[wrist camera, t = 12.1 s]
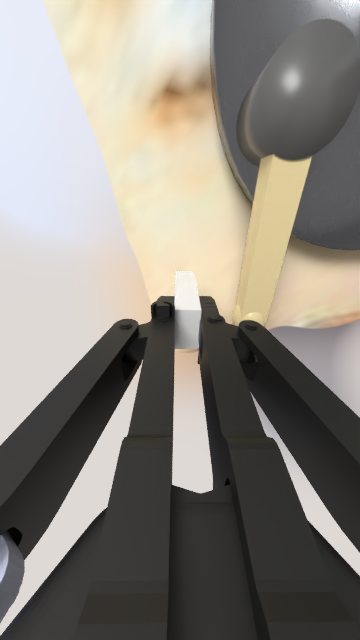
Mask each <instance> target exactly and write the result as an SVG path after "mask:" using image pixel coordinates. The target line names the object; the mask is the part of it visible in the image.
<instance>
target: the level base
mask: <svg viewBox="0 0 360 640" xmlns="http://www.w3.org/2000/svg"><path fill="white" fill-rule="evenodd" d="M318 19H332V20H336V21H338V22H340V23H342V24H343V25H345V26H346V27H347V28H348V29H349V30H350V31H351V32H352V34H353V35H354V37H355V39H356V41H357V44H358V46H359V50H360V0H212V10H211V34H210V66H211V81H212V95H213V102H214V108H215V114H216V120H217V125H218V130H219V133H220V137H221V141H222V144H223V148H224V151H225V155H226V157H227V159H228V162H229V164H230V167H231V169H232V171H233V174H234V176H235V178H236V180H237V182H238V183H239V185H240V187H241V188H242V190H243V192H244V194H245V195H246V197H247V198H248V199H249V200H250V202H251V203H252V204H253V201H254V195H255V189H256V184H257V178H258V172H259V166H256V165H254V164H252V163H250V162H249V161H248V160H247V159H246V158H245V157H244V155H243V154H242V152H241V150H240V148H239V145H238V141H237V135H236V125H237V117H238V113H239V109H240V106H241V104H242V101H243V99H244V97H245V95H246V94H247V92H248V90H249V89H250V88H251V86H252V85H253V83H254V82H255V80H256V79H257V78H258V76H259V75H260V73H261V72H262V70H263V69H264V68H265V66H266V65H267V63H268V62H269V60H270V59H271V58H272V56H273V55H274V53H275V52H276V51H277V49H278V48H279V47H280V45H281V44H282V43H283V42H284V41H285V39H286V38H287V37H288V36H289V35H290V34H292V33H293V32H294V31H295V30H296V29H298V28H299V27H301V26H303V25H304V24H306V23H309V22H311V21H314V20H318ZM291 235H292V236H295V237H297V238H299V239H302V240H304V241H307V242H309V243H312V244H315V245H319V246H323V247H327V248H332V249H343V250H360V87H359V92H358V95H357V99H356V102H355V104H354V107H353V109H352V112H351V114H350V116H349V118H348V119H347V121H346V123H345V125H344V126H343V128H342V129H341V130H340V132H339V133H338V134H337V136H336V137H335V138H334V139H333V140H332V141H331V142H330V143H329V144H328V145H327V146H326V147H324V148H323V149H322V150H320V151H319V152H317V153H315V154H314V155H312V159H311V162H310V166H309V169H308V173H307V177H306V180H305V184H304V188H303V191H302V195H301V198H300V202H299V206H298V209H297V213H296V217H295V220H294V224H293V227H292V231H291Z"/></svg>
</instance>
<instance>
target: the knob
mask: <svg viewBox="0 0 360 640" xmlns="http://www.w3.org/2000/svg"><path fill="white" fill-rule="evenodd" d="M359 87H360V50H359V46H358V44H357V41H356V39H355V37H354V35H353V34H352V32H351V31H350V30H349V29H348V28H347V27H346V26H345V25H343V24H342V23H340V22H338V21H336V20H332V19H318V20H314V21H311V22H309V23H306V24H304V25H303V26H301V27H299V28H298V29H296V30H295V31H294V32H293V33H292V34H290V35H289V36H288V37H287V38H286V39H285V41H284V42H283V43H282V44H281V45H280V47H279V48H278V49H277V51H276V52H275V53H274V55H273V56H272V58H271V59H270V60H269V62H268V63H267V65H266V66H265V68H264V69H263V70H262V72H261V73H260V75H259V76H258V78H257V79H256V80H255V82H254V83H253V85H252V86H251V88H250V89H249V90H248V92H247V94H246V95H245V97H244V99H243V101H242V104H241V106H240V109H239V113H238V117H237V125H236V135H237V141H238V145H239V148H240V150H241V152H242V154H243V155H244V157H245V158H246V159H247V160H248V161H249V162H250V163H252V164H254V165H256V166H259V172H258V178H257V184H256V189H255V195H254V201H253V207H252V212H251V218H250V224H249V229H248V235H247V241H246V246H245V252H244V258H243V263H242V269H241V275H240V280H239V286H238V292H237V298H236V303H235V308H234V310H233V313H232V320H233V323H234V325H235V326H239V323H240V322H241V321H243V320H253V321H256V322H258V323H260V324H261V325H262V326H263V327H264V326H265V324H266V322H267V319H268V314H269V311H270V307H271V304H272V300H273V296H274V293H275V289H276V285H277V282H278V278H279V275H280V271H281V267H282V264H283V260H284V256H285V253H286V249H287V246H288V242H289V238H290V235H291V231H292V227H293V224H294V220H295V217H296V213H297V209H298V206H299V202H300V198H301V195H302V191H303V188H304V184H305V180H306V177H307V173H308V169H309V166H310V162H311V159H312V155H314V154H315V153H317V152H319V151H320V150H322V149H323V148H324V147H326V146H327V145H328V144H329V143H330V142H331V141H332V140H333V139H334V138H335V137H336V136H337V134H338V133H339V132H340V130H341V129H342V128H343V126H344V125H345V123H346V121H347V119H348V118H349V116H350V114H351V112H352V109H353V107H354V104H355V102H356V99H357V95H358V92H359Z"/></svg>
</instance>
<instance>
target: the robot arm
mask: <svg viewBox="0 0 360 640" xmlns="http://www.w3.org/2000/svg"><path fill="white" fill-rule="evenodd" d="M151 314H152V319H151V321H150V322H148V323H146V324H142V325H138V322H137V321H135V320H132V319H123V320H120V321H118V322H116V323H115V324H114V325H113V326H112V327H111V328H110V329H109V330H108V331H107V332H106V334H104V336H103V337H102V338H101V339H100V340H99V341H98V342H97V343H96V344H95V345H94V346H93V347H92V348H91V349H90V350H89V352H88V353H87V354H86V355H85V356H84V357H83V358H82V359H81V360H80V361H79V362H78V363H77V364H76V365H75V367H74V368H73V369H72V370H71V371H70V372H69V373H68V374H67V375H66V376H65V377H64V378H63V379H62V380H61V381H60V383H59V384H58V385H57V386H56V387H55V388H54V389H53V390H52V391H51V392H50V393H49V394H48V396H47V397H46V398H45V399H44V400H43V401H42V402H41V403H40V404H39V405H38V406H37V407H36V408H35V409H34V410H33V411H32V413H31V414H30V415H29V416H28V417H27V418H26V419H25V420H24V421H23V422H22V423H21V424H20V425H19V427H18V428H17V429H16V430H15V431H14V432H13V433H12V434H11V435H10V436H9V437H8V438H7V439H6V440H5V441H4V442H3V444H2V445H1V446H0V623H1V621H2V619H3V618H4V616H5V614H6V613H7V611H8V609H9V608H10V606H11V605H12V604H13V603H14V601H15V599H16V597H17V595H18V593H19V589H20V586H21V584H22V580H23V576H24V560H25V559H26V557H27V556H28V555H29V554H30V552H31V551H32V550H33V548H34V547H35V545H36V544H37V543H38V541H39V540H40V538H41V537H42V535H43V534H44V533H45V531H46V530H47V528H48V527H49V525H50V523H51V522H52V520H53V518H54V517H55V515H56V513H57V512H58V510H59V508H60V507H61V505H62V503H63V501H64V500H65V498H66V496H67V494H68V492H69V491H70V489H71V487H72V485H73V483H74V482H75V480H76V478H77V477H78V475H79V473H80V471H81V469H82V468H83V466H84V464H85V462H86V460H87V459H88V457H89V455H90V453H91V452H92V450H93V448H94V446H95V445H96V443H97V441H98V439H99V437H100V436H101V434H102V432H103V430H104V429H105V427H106V425H107V423H108V421H109V420H110V418H111V416H112V414H113V413H114V411H115V409H116V407H117V405H118V404H119V402H120V400H121V398H122V397H123V395H124V393H125V391H126V389H127V388H128V386H129V384H130V382H131V381H132V379H133V377H134V375H135V374H136V372H137V370H138V368H139V366H140V365H141V362H142V360H143V363H142V368H141V374H140V378H139V383H138V388H137V393H136V398H135V403H134V408H133V413H132V418H131V422H130V427H129V432H128V435H127V437H125V438H124V440H123V441H122V445H121V448H120V453H119V457H118V462H117V466H116V471H115V475H114V480H113V485H112V489H111V494H110V498H109V503H108V507H107V508H106V509H105V510H104V511H102V512H101V513H100V514H99V515H98V516H97V517H96V518H95V519H94V521H93V522H92V523H91V524H90V525H89V527H88V528H87V529H86V530H85V531H84V533H83V534H82V535H81V536H80V538H79V539H78V540H77V541H76V543H75V544H74V545H73V546H72V548H71V549H70V550H69V551H68V553H67V554H66V555H65V557H64V558H63V559H62V560H61V561H60V563H59V564H58V565H57V566H56V567H55V569H54V570H53V571H52V572H51V574H50V575H49V576H48V578H47V579H46V580H45V581H44V582H43V584H42V585H41V586H40V587H39V589H38V590H37V591H36V593H35V594H34V595H33V596H32V597H31V599H30V600H29V601H28V602H27V604H26V605H25V606H24V607H23V609H22V610H21V611H20V612H19V613H18V615H17V616H16V617H15V618H14V620H13V621H12V623H10V625H9V626H8V627H7V628H6V630H5V631H4V632H3V633H2V635H1V636H0V640H360V576H359V575H358V574H357V573H356V572H355V571H354V570H353V568H352V567H351V566H350V565H349V564H348V563H347V562H346V561H345V560H344V559H343V558H342V557H341V555H339V553H338V552H337V551H336V550H335V549H334V548H333V547H332V546H331V545H330V544H329V543H328V542H327V540H326V539H325V538H324V537H323V536H322V535H321V534H320V533H319V532H318V531H317V530H316V529H315V528H314V527H313V525H311V523H309V521H308V520H307V518H306V516H305V513H304V511H303V508H302V506H301V503H300V500H299V498H298V495H297V493H296V490H295V488H294V485H293V482H292V480H291V477H290V475H289V473H288V470H287V467H286V464H285V462H284V459H283V457H282V454H281V452H280V449H279V447H278V445H277V443H276V442H275V440H274V439H273V438H270V437H267V436H266V434H265V432H264V430H263V427H262V424H261V421H260V418H259V415H258V413H257V410H256V407H255V404H254V401H253V398H252V396H251V393H252V394H253V396H254V398H255V399H256V401H257V402H258V404H259V405H260V407H261V408H262V410H263V411H264V413H265V415H266V416H267V418H268V419H269V421H270V422H271V424H272V425H273V427H274V428H275V430H276V431H277V433H278V434H279V436H280V438H281V439H282V441H283V442H284V444H285V445H286V447H287V448H288V450H289V451H290V453H291V454H292V456H293V457H294V459H295V460H296V462H297V464H298V465H299V467H300V468H301V470H302V471H303V473H304V474H305V476H306V477H307V479H308V480H309V482H310V484H311V485H312V486H313V488H314V490H315V491H316V493H317V494H318V496H319V497H320V499H321V500H322V502H323V503H324V505H325V506H326V508H327V509H328V511H329V512H330V514H331V515H332V517H333V518H334V520H335V521H336V522H337V524H338V525H339V526H340V528H341V530H342V531H343V532H344V533H345V534H346V536H347V537H348V538H349V540H350V541H351V542H352V543H353V545H354V546H355V547H356V548H357V549H358V551H359V552H360V418H359V417H358V416H357V415H356V414H355V413H354V412H353V411H352V410H351V409H350V408H349V407H348V406H347V405H346V404H345V403H344V402H343V401H342V400H340V399H339V398H338V397H337V396H336V395H335V394H334V393H333V392H332V391H331V390H330V389H329V388H328V387H327V386H326V385H324V383H322V382H321V381H320V380H319V379H318V378H317V377H316V376H315V375H314V374H313V373H312V372H311V371H310V370H309V369H308V368H307V367H306V366H305V365H304V364H302V363H301V362H300V361H299V360H298V359H297V358H296V357H295V356H294V355H293V354H292V353H291V352H290V351H289V350H288V349H287V348H285V346H284V345H282V344H281V343H280V342H279V341H278V340H277V339H276V338H275V337H274V336H273V335H272V334H271V333H270V332H269V331H268V330H267V329H266V328H265V327H263V326H262V325H261V324H260V323H258V322H256V321H253V320H243V321H241V322H240V323H239V326H235V325H231V324H228V323H226V322H225V319H224V318H223V317H222V316H220V315H219V312H218V309H217V306H216V303H215V300H214V299H213V298H212V297H210V296H199V295H198V290H197V284H196V279H195V274H194V271H176V273H175V296H161V297H159V298H158V299H157V301H156V302H154V303H152V305H151ZM198 345H199V355H198V364H200V371H201V379H202V388H203V396H204V405H205V413H206V421H207V430H208V438H209V447H210V455H211V464H212V472H213V490H212V491H209V492H206V493H202V494H200V493H196V492H193V491H189V490H186V489H183V488H180V487H177V486H174V485H172V453H173V402H174V401H173V400H174V398H173V397H174V349H198ZM250 392H251V393H250Z"/></svg>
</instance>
